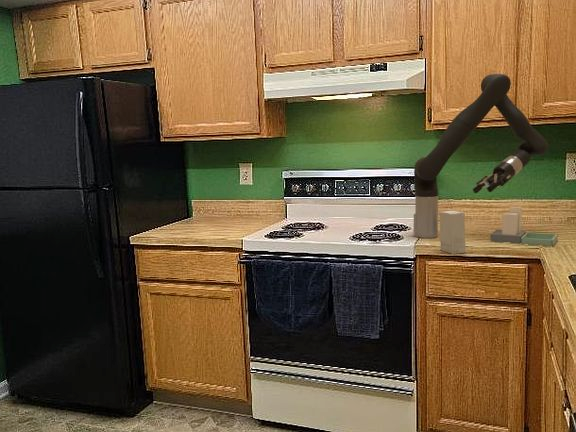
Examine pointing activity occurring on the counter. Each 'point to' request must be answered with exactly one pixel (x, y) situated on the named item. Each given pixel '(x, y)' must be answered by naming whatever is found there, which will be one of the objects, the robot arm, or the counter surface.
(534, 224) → the counter surface
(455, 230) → the skincare box
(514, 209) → the beige rectangular block
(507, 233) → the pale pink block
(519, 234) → the board
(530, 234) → the tray
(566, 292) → the counter surface
